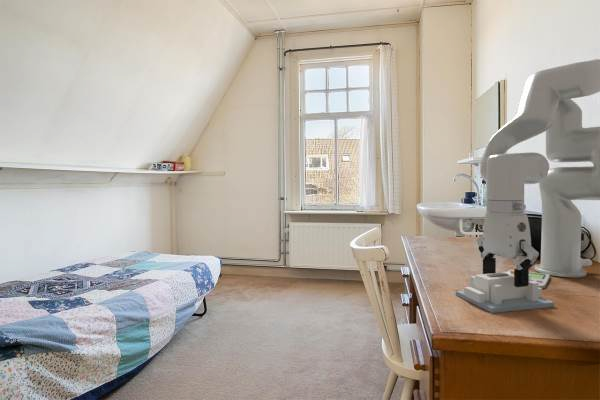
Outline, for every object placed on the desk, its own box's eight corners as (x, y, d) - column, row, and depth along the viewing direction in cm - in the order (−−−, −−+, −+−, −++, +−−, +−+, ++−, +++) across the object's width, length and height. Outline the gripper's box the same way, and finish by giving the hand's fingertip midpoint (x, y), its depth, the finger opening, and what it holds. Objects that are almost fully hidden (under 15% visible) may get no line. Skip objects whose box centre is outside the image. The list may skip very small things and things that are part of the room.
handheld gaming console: (499, 278, 96) (510, 268, 107) (499, 284, 96) (510, 273, 107) (543, 285, 89) (550, 273, 100) (543, 291, 89) (549, 278, 101)
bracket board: (512, 290, 89) (512, 270, 89) (555, 306, 77) (555, 284, 77) (454, 295, 86) (455, 275, 86) (490, 312, 74) (491, 289, 74)
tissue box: (515, 291, 85) (515, 268, 85) (530, 296, 81) (530, 272, 81) (474, 296, 82) (475, 272, 82) (488, 301, 78) (488, 277, 78)
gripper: (552, 210, 73) (550, 290, 74) (491, 203, 90) (491, 269, 91) (521, 212, 71) (520, 293, 73) (465, 205, 88) (465, 271, 90)
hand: (504, 279), depth 82 cm, fingers open, 9 cm apart
